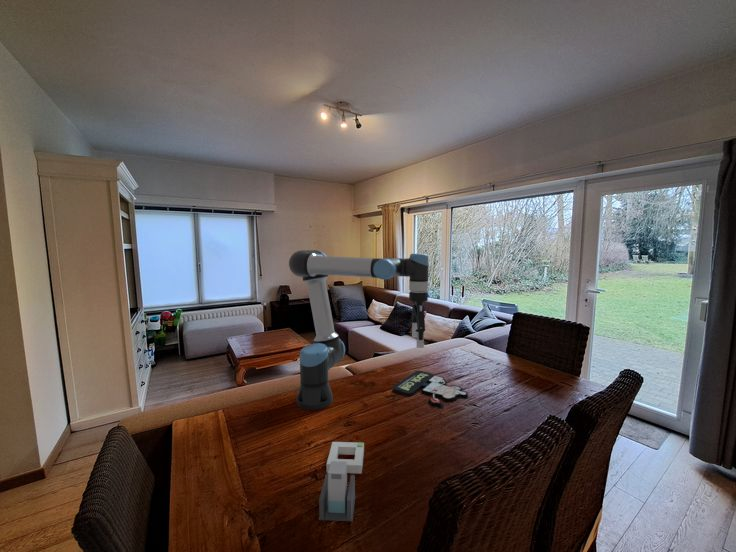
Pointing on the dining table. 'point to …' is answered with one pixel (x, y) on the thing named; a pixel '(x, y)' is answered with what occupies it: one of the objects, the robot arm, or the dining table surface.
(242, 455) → the dining table surface
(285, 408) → the dining table surface
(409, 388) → the sign
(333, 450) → the frame
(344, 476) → the plug
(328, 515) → the holster
